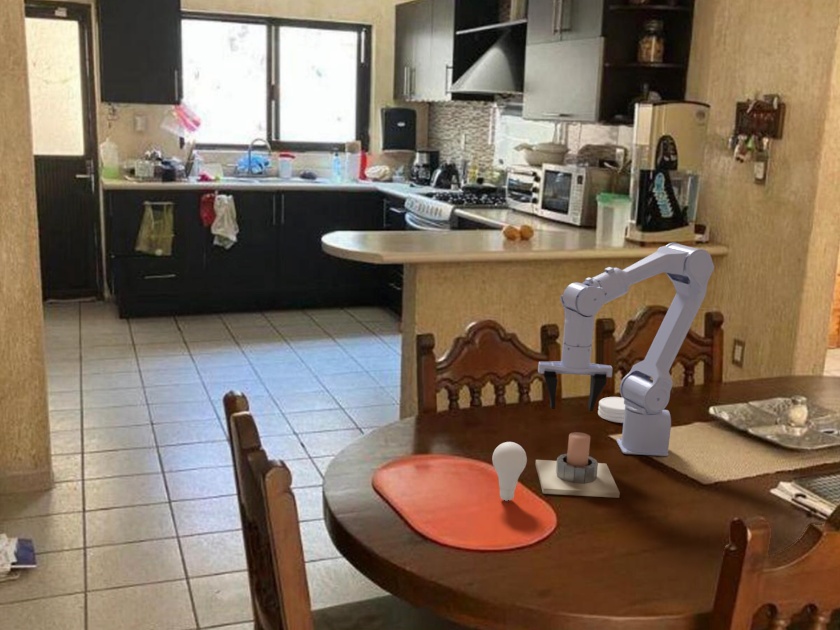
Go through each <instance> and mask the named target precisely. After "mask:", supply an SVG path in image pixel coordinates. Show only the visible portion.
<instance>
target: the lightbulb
mask: <svg viewBox="0 0 840 630" xmlns="http://www.w3.org/2000/svg"><path fill="white" fill-rule="evenodd" d="M491 459H492V466H493V468H494V470H495V472H496V474H497V478H498V487H499V497H500V499H501V500H503V501H504V500H505V501H504V502H509V501H511V500H513V499H514V497H515V492H516V491H515V490H516V488H517V484H518V480H519V479H520V475H521V474H522V473H523V471H524V470H525V469H526V466H527V462H528V458H527V453H526V451H525V449H524V448H523V447H522V446H521V445H520V444H518V443H516V442H513V441H506V442H502V443H500V444H499V445H498V446H497V447H496V448H495V449H494V451H493V452H492V458H491ZM508 500H509V501H508Z"/></svg>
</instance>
